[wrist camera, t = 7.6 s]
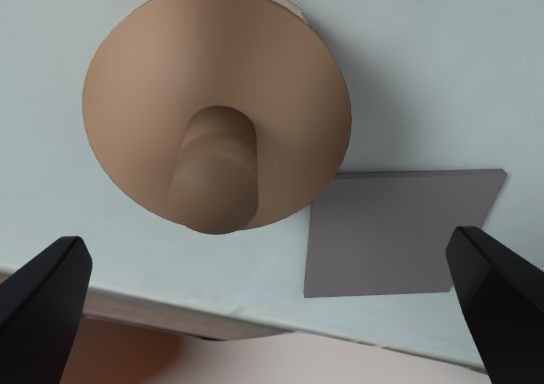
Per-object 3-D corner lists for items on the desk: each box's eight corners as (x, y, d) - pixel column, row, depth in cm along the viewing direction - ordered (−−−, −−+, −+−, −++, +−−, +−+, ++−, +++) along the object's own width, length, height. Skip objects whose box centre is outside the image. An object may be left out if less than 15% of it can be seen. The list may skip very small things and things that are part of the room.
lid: (363, -18, 12) (416, 21, 8) (333, 213, 19) (355, 295, 15) (48, -12, 12) (-49, 32, 8) (128, 221, 18) (97, 307, 15)
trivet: (501, 169, 23) (506, 174, 23) (445, 285, 31) (448, 291, 30) (314, 174, 23) (315, 180, 22) (303, 291, 30) (304, 298, 30)
